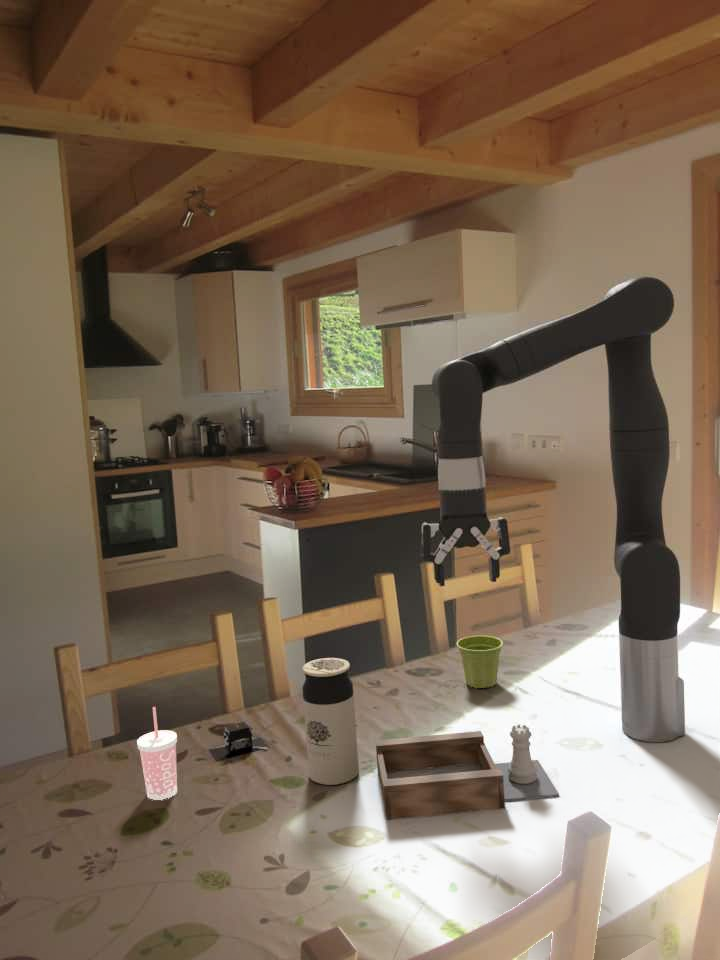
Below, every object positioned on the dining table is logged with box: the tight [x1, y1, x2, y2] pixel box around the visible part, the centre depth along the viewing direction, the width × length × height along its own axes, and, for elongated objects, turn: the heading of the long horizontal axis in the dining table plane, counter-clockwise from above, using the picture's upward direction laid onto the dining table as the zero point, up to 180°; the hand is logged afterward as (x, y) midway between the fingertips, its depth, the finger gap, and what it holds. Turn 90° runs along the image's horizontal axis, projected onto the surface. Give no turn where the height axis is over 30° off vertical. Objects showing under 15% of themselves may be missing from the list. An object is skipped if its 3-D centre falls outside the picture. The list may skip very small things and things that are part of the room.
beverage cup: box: [136, 706, 178, 801], centre depth 122 cm, size 6×6×14 cm
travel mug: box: [301, 657, 360, 786], centre depth 124 cm, size 8×8×18 cm
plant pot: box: [456, 635, 504, 689], centre depth 159 cm, size 9×9×9 cm
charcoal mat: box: [494, 759, 560, 802], centre depth 119 cm, size 8×11×1 cm
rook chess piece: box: [508, 724, 537, 785], centre depth 118 cm, size 4×4×8 cm
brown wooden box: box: [375, 730, 506, 821], centre depth 118 cm, size 17×15×5 cm
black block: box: [207, 721, 269, 762], centre depth 136 cm, size 12×7×5 cm, turn 115°
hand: (467, 583), depth 128 cm, fingers open, 8 cm apart
